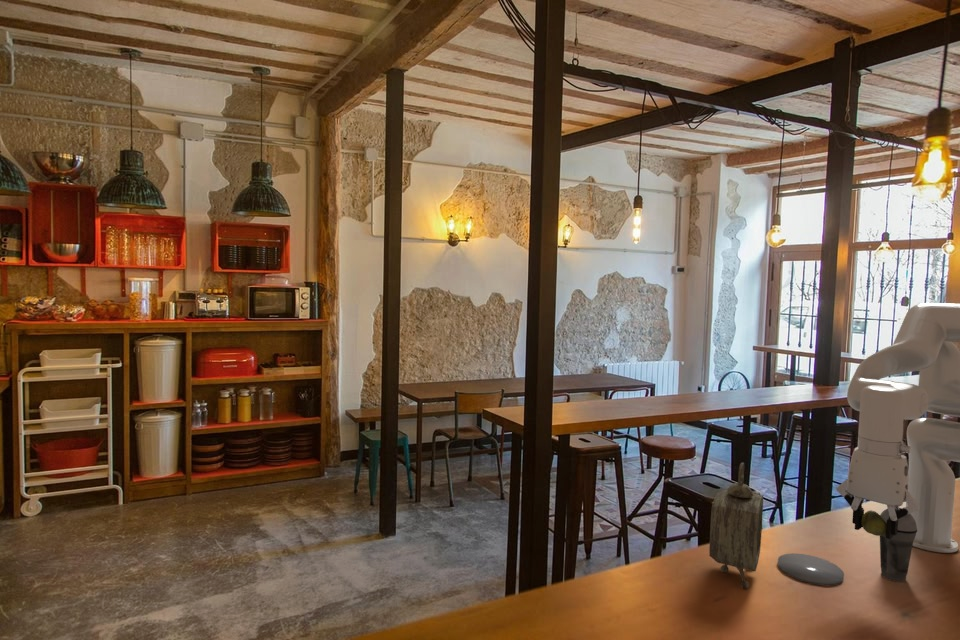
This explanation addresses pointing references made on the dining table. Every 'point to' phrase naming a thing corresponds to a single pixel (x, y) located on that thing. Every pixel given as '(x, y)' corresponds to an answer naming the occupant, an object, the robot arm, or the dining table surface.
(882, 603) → the dining table surface
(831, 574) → the slate plate
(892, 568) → the beverage cup
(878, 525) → the lime
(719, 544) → the tabletop clock
